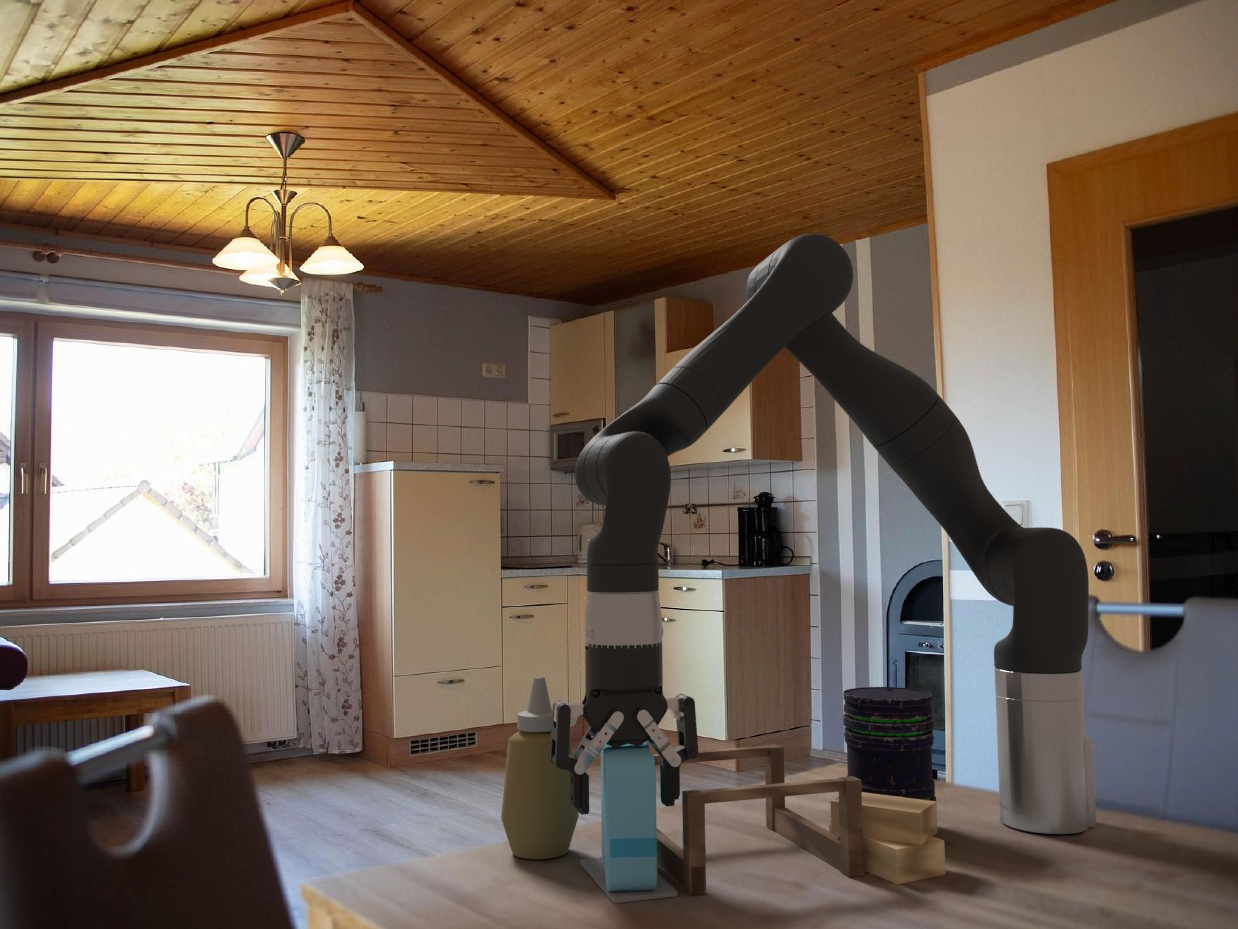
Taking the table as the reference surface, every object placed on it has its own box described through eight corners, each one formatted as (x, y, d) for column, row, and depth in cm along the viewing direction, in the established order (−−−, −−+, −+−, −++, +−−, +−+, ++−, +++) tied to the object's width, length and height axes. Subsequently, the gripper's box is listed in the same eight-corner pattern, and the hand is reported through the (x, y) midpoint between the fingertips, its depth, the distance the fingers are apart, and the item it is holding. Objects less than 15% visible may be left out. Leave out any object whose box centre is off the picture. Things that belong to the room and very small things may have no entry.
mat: (637, 858, 105) (637, 854, 105) (677, 896, 94) (677, 891, 94) (580, 864, 104) (580, 859, 104) (614, 903, 92) (613, 899, 92)
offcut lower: (876, 851, 108) (875, 816, 109) (945, 878, 99) (944, 840, 100) (830, 859, 106) (829, 824, 106) (897, 888, 97) (896, 849, 97)
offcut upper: (850, 820, 107) (849, 790, 108) (937, 832, 102) (936, 801, 103) (831, 832, 103) (830, 801, 103) (920, 845, 98) (919, 813, 98)
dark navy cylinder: (935, 845, 109) (931, 701, 110) (840, 837, 112) (837, 697, 113) (938, 820, 118) (934, 688, 119) (851, 814, 121) (847, 685, 122)
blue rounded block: (657, 895, 93) (655, 759, 94) (607, 897, 93) (606, 760, 94) (646, 855, 105) (644, 735, 106) (601, 856, 105) (600, 736, 106)
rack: (779, 825, 117) (777, 744, 118) (863, 875, 99) (861, 780, 100) (629, 840, 112) (628, 755, 112) (689, 896, 94) (688, 794, 95)
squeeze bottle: (590, 845, 110) (588, 674, 111) (561, 868, 102) (560, 684, 104) (520, 839, 113) (520, 672, 114) (487, 860, 105) (487, 681, 106)
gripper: (679, 632, 106) (681, 793, 105) (543, 637, 102) (544, 805, 101) (706, 639, 99) (709, 812, 98) (561, 644, 95) (562, 825, 94)
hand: (625, 808), depth 99 cm, fingers open, 8 cm apart
